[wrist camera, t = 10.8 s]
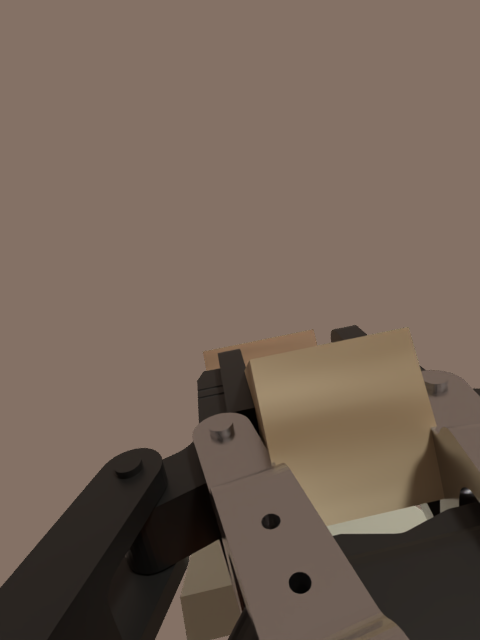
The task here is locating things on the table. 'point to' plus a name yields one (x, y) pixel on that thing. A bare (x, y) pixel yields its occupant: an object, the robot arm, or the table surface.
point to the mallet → (345, 419)
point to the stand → (216, 588)
